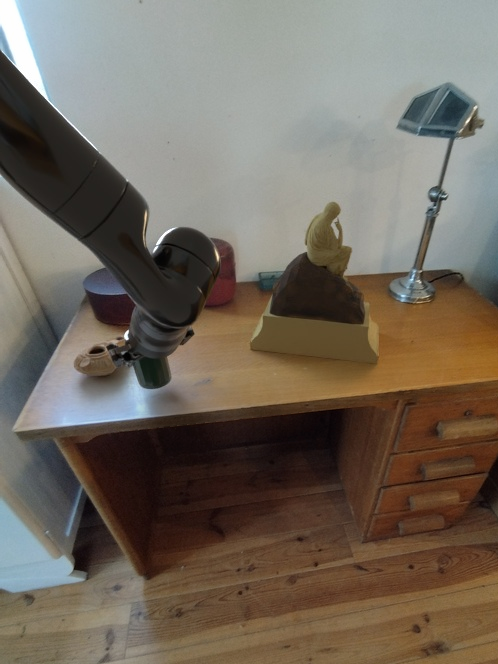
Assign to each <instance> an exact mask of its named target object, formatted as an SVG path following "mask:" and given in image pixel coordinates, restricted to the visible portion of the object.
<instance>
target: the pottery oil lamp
mask: <svg viewBox="0 0 498 664" xmlns="http://www.w3.org/2000/svg"><path fill="white" fill-rule="evenodd" d="M109 344H114V345H118V347H120V346H123V345H125V339H124V335H117V336H114V337H112V338H110V339H107V340H105V341H102V342H99V343H95V344H93V345H91V346H90V347H87V348H85V349H83V350H82V351H80V353H78V355H77V356H76V357H75V359H74V361H73V368H74V369H75V371H77V372H79V373H80V374H83V375H85V376H95V377H105V376H109V375H111V374H112V373H114V372H115V371H116V369H118V367H115V365H114V363H113V361H112V359H111V356H110V354H109V352H108V350H107V348H106V346H108V345H109Z"/></svg>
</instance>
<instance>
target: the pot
mask: <svg viewBox="0 0 498 664" xmlns="http://www.w3.org/2000/svg"><path fill="white" fill-rule="evenodd" d="M128 332H129V329H128V330H126V331H125V333H124V334H123V336H124V339H125V341H126V340H128V339H129V335H128ZM132 367H133V371H134V374H135V377H136V379H137V382H138V385H139V386H140V387H141V388H143V389H145V390H158V389H161V388H163V387H166V386H167V385H168V384H169V383H170V382H171V381H172V379H173V378H172V377H173V376H172V371H171V367H170V362H169V359H168V356H167V357H164V358H160V359H154V358H149V357H145V358H143V359H142V360H140V361H135V362H134V364H133V366H132Z"/></svg>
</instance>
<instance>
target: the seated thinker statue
mask: <svg viewBox="0 0 498 664" xmlns="http://www.w3.org/2000/svg"><path fill="white" fill-rule="evenodd" d="M341 211H342V208H341V206H340V205H339V203H338V202H336V201H331V202H328V203H327V204H326V205H325V206H324V208H323V211H322V212H319V213H318V214H316V215H313V217H312V219H311V220H310V222H309V224H308V226H307V229H306V232H305V236H304V246H306V251H305V252H302V253H299V254H298V255H297V256H296V257H294V258H292V260H291V261H290V262H289V263H288V264H287V265H286V267H285V269H284V271H283V272H282V274H281V275H280V276H279V277H278V278H277V279H276V280H275V281H274V282H273V284H272V293H271V297H270V299H269V301H268V303H267V305H266V307H265V310H264V311H263V313H262V314H261V316H260V318H259V321H258V322H257V325H256V327H255V330H254V332H253V333H252V336H251V338H250V340H249V349H250V350H251V351H253V350H254V351H260V352H269V353H270V352H271V353H279V354H288V355H296V356H306V357H314V358H322V359H330V360H339V361H340V360H341V361H349V362H356V363H357V362H358V363H367V364H376V365H378V362H379V357H380V333H379V332H380V329H379V328H380V326H379V325H380V324H377V323H376V322H375V321H373V320H372V318H371V316H370V303H371V302H369V301H368V302H367V301H364V300H365V295H364V293H363V291H362V290H361V289H360V288H359V287H358V285H357V286H356V285H355V284H354V283H353V282H352V281H350V279H349V278H348V277H347V276H346V275H345V273H346V271H347V270H348V266H349V263H350V259H351V257H352V253H353V247H351V246H350V245H343V242H344V233H343V227H342V225H341V222H340V220H339V219H340V218H339V217H338V216H339V215H340V214H341ZM336 218H337V221H335V222H334V220H335V219H336ZM332 223H333V224H334V225H335V227H336V229H337V230H338V235H337V236H336V233H335V230H334V229H335V228H333V226H332Z"/></svg>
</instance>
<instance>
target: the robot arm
mask: <svg viewBox="0 0 498 664" xmlns="http://www.w3.org/2000/svg"><path fill="white" fill-rule="evenodd" d="M0 176H1V178H3V179H4V180H5V181H6V182H7V183H8V184H9V185H10V186H11V187H12V188H13V189H14V190H15V192H17V193H18V194H19V195H20V196H21V197H23V198H24V199H25V200H26V201H27V202H28V203H30V204H31V205H32V206H33V208H36V209H37V210H38V211H39V212H40V213H42V214H43V215H45V217H47V218H48V219H49V220H50V221H52V222H53V223H55V224H56V225H57V226H58V227H60V228H61V229H63V231H65V232H66V233H68V234H69V235H70V236H71V237H73V238H74V239H76V240H77V241H78V242H79V243H81V244H82V245H83V246H84V247H86V248H87V249H88V250H89V251H90V252H91V253H92V254H93V256H95V257H96V258H97V259H98V261H99V262H100V263H101V265H102V266H103V267H104V268H105V269H106V270H107V271H108V273H110V275H111V276H112V277H113V278H114V279H115V281H116V282H117V283H118V284H119V286H120V287H121V288H122V289H123V290H124V292H125V294H127V296H128V297H129V298H130V300H131V301H132V302H133V303H134V304H135V306H134V308H133V310H132V313H131V317H130V321H129V325H128V326H129V327H128V330H129V332H128V335H129V339H128V340H126V341H125V345H123V346H120V347H118V345H114V344H109V345H108V346H106V348H107V350H108V352H109V354H110V356H111V359H112V361H113V363H114V365H115V367H117V368H120V367H122V366H123V367H128V368H131V367H133V364H134V362H135V361H140V360H142V359H143V358H145V357H149V358H154V359H160V358H164V357H167V358H168V357H169V356H171V355H173V353H175V352H176V350H177V349H178V348H179V346H185V344H187V342H189V341H190V340H191V339H192V338H193V337H194V336H195V335H196V333H195V331H194V329H193V325H194V324H195V323H196V322H197V321H198V319H199V318H200V317H201V315H202V312H203V310H204V308H205V306H206V304H207V302H208V299H209V298H210V295H211V293H212V291H213V289H214V286H215V285H216V283H217V280H218V278H219V276H220V273H221V268H222V261H221V259H222V258H221V255H220V252H219V250H218V248H217V246H216V244H215V243H214V242H213V240H212V239H211V238H210V237H209V236H208V235H207V234H206V233H204V232H203V231H201V230H199V229H197V228H194V227H190V226H177V227H173V228H170V229H168V230H166V231H165V232H164V233H163V234H162V235H161V236H160V237H159V239H158V240H157V242H156V243H155V245H154V247H153V249H152V251H151V252H150V250H149V248H148V246H147V239H146V238H147V231H148V224H149V222H150V221H149V220H150V213H151V212H150V206H149V203H148V201H147V200H146V198H145V197H144V196H143V194H142V193H141V192H140V191H139V190H138V188H136V187H135V186H134V184H132V182H130V181H129V179H127V177H125V176H124V174H122V173H121V171H119V169H117V168H116V167H115V165H113V164H112V163H111V162H110V161H109V160H108V159H107V158H106V157H105V156H104V155H103V153H101V152H100V151H99V149H97V148H96V147H95V146H94V145H93V144H92V143H91V142H90V141H89V140H88V139H87V138H86V136H84V135H83V134H82V132H80V131H79V130H78V129H77V128H76V127H75V126H74V125H73V124H72V123H71V122H70V121H69V120H68V119H67V118H66V117H65V116H64V115H63V113H61V112H60V111H59V110H58V108H56V107H55V106H54V105H53V103H51V101H49V100H48V98H46V97H45V95H44V94H42V93H41V91H40V90H39V89H38V88H37V87H36V86H35V85H34V84H33V83H32V82H31V80H30V79H29V78H28V77H27V76H26V75H25V74H24V73H23V72H22V71H21V70H20V69H19V67H17V65H16V64H15V63H14V62H13V61H12V60H11V59H10V58H9V57H8V56H7V55H6V53H5V52H4V51H3V50H2V49H1V48H0Z"/></svg>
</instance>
